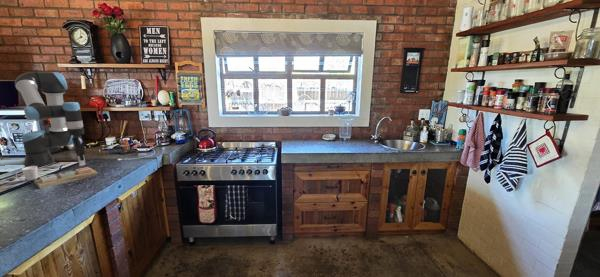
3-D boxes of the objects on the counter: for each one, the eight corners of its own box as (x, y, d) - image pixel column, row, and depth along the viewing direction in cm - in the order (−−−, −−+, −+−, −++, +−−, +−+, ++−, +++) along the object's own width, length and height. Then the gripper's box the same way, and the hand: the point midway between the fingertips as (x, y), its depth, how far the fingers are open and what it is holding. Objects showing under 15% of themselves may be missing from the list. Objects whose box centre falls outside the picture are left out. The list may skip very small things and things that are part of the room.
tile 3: (76, 173, 157) (75, 169, 156) (88, 170, 162) (87, 166, 161) (79, 175, 154) (78, 171, 153) (91, 172, 158) (90, 168, 158)
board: (35, 183, 145) (34, 179, 144) (90, 171, 166) (90, 167, 165) (40, 189, 138) (39, 185, 137) (97, 175, 158) (97, 171, 158)
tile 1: (40, 181, 144) (39, 176, 143) (54, 177, 149) (53, 173, 148) (43, 183, 141) (42, 179, 140) (57, 180, 146) (56, 176, 145)
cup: (37, 181, 148) (34, 168, 146) (14, 184, 144) (10, 171, 142) (43, 177, 154) (40, 165, 152) (21, 180, 150) (18, 167, 148)
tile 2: (59, 176, 150) (58, 172, 150) (72, 174, 155) (71, 170, 155) (62, 179, 147) (61, 174, 147) (75, 176, 152) (74, 172, 151)
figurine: (118, 152, 210) (116, 138, 207) (132, 150, 217) (130, 136, 214) (122, 154, 203) (120, 140, 200) (136, 152, 211) (134, 138, 208)
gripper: (64, 127, 152) (71, 164, 157) (70, 130, 145) (78, 168, 150) (79, 126, 158) (86, 161, 163) (86, 128, 151) (93, 165, 156)
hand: (82, 165), depth 156 cm, fingers closed
